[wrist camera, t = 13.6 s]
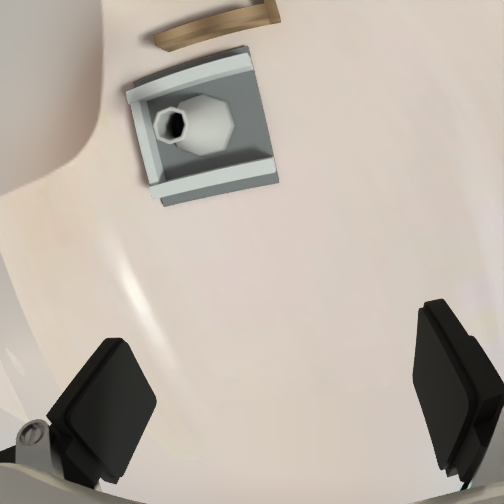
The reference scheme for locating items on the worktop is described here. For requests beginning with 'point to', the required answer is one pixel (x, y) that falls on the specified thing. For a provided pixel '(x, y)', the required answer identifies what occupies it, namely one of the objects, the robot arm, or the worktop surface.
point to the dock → (217, 164)
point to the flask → (196, 125)
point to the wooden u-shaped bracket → (219, 25)
